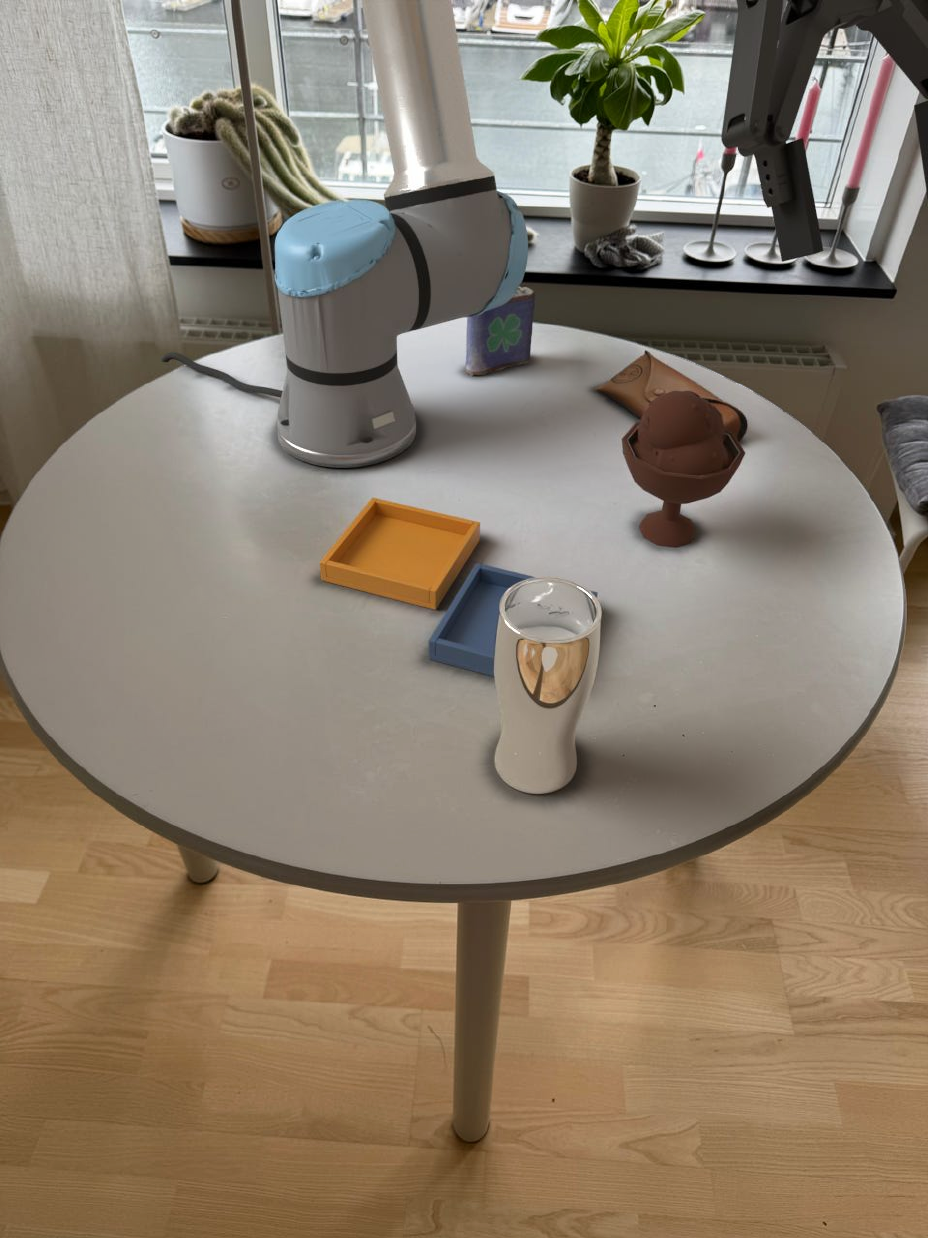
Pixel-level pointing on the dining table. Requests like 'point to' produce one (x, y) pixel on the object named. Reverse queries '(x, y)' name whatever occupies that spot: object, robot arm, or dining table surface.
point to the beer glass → (543, 679)
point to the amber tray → (401, 552)
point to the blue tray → (473, 620)
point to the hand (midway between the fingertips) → (879, 228)
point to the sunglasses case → (664, 391)
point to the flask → (501, 335)
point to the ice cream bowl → (679, 461)
